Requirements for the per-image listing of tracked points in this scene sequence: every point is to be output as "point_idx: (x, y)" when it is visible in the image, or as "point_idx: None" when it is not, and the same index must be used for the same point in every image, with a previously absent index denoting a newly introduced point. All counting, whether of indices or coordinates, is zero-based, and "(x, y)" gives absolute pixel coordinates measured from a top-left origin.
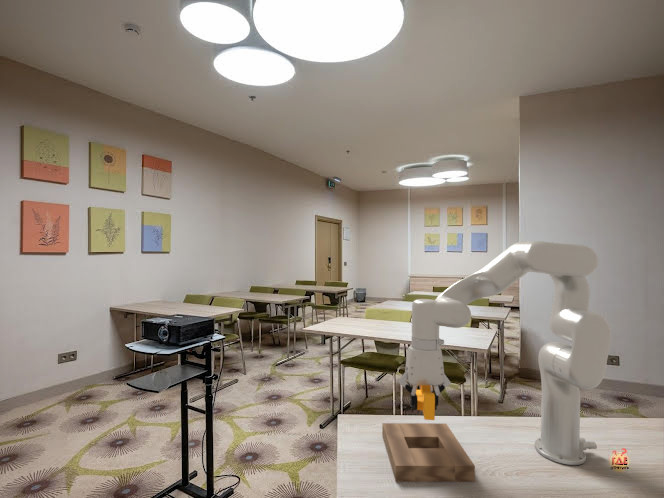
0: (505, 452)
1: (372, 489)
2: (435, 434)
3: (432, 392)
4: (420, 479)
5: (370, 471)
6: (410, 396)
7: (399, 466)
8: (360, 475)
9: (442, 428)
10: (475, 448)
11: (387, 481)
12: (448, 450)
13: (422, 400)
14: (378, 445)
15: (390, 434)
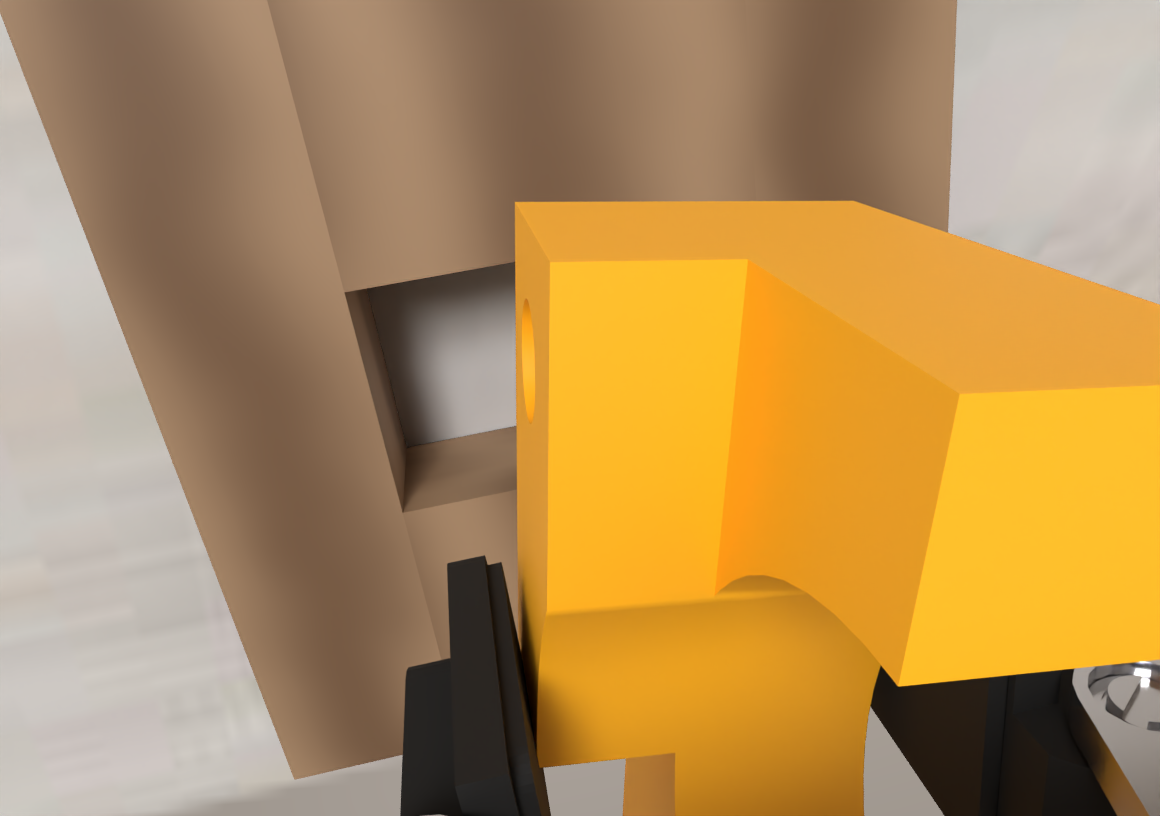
0: None
1: (154, 791)
2: (738, 165)
3: (1017, 724)
4: None
5: (87, 624)
6: (402, 780)
7: (326, 766)
8: (16, 686)
9: None
10: (1079, 85)
11: (250, 697)
12: None
13: (681, 702)
14: (59, 199)
15: (163, 269)
